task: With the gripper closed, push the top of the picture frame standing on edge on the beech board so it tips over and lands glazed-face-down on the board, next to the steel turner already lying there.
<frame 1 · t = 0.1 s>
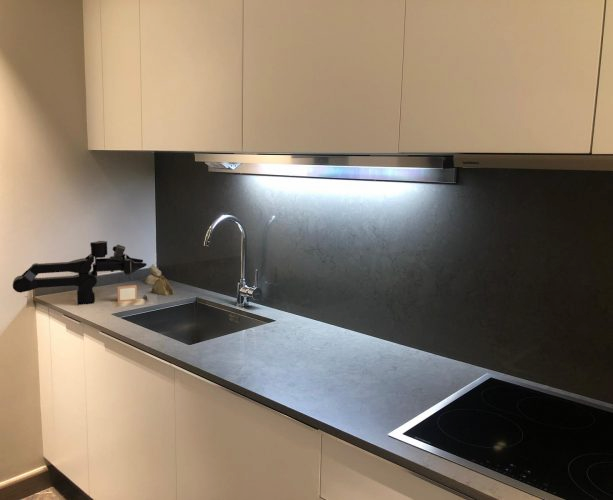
hand: (144, 262, 247), 17 cm above the worktop, tool horizontal, fingers open, 9 cm apart
rock: (162, 295, 258), on the worktop
beige lumpy chunk: (153, 283, 280), on the worktop
picture frame: (127, 300, 243), point 1 cm above the worktop, touching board
turner: (147, 301, 242), resting on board
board: (132, 303, 241), on the worktop
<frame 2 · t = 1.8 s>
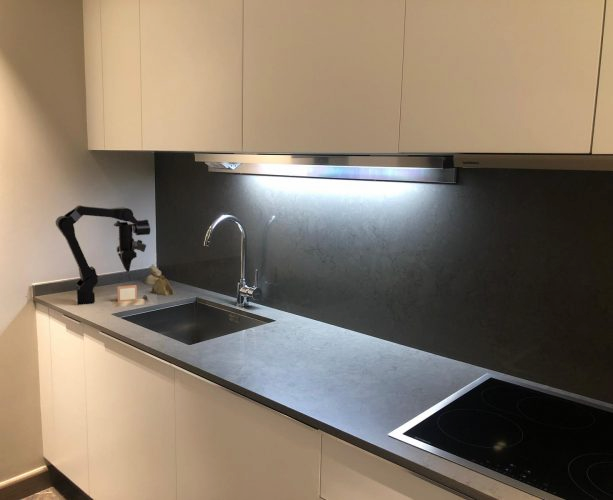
hand: (127, 270, 247), 13 cm above the worktop, tool pointing down, fingers open, 5 cm apart
nothing on the worktop moved.
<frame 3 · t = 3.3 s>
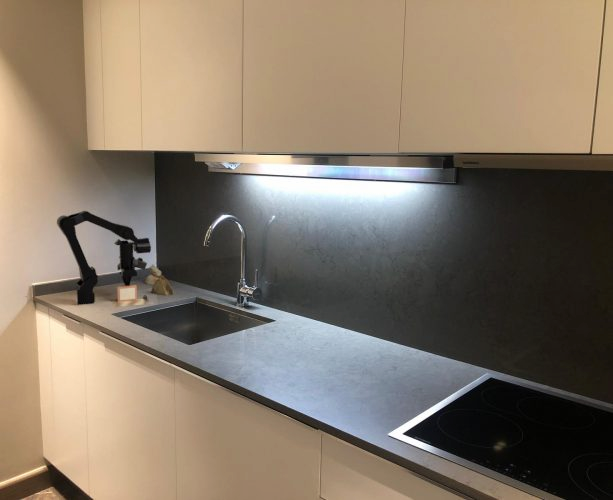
hand: (127, 288, 248), 5 cm above the worktop, tool pointing down, fingers closed
nothing on the worktop moved.
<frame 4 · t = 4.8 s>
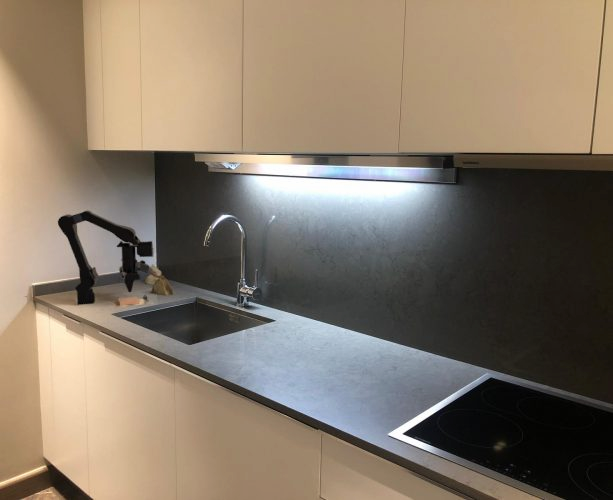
hand: (129, 292, 242), 5 cm above the worktop, tool pointing down, fingers closed
picture frame: (127, 299, 242), point 1 cm above the worktop, tilted 90°, touching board
everything else where it was.
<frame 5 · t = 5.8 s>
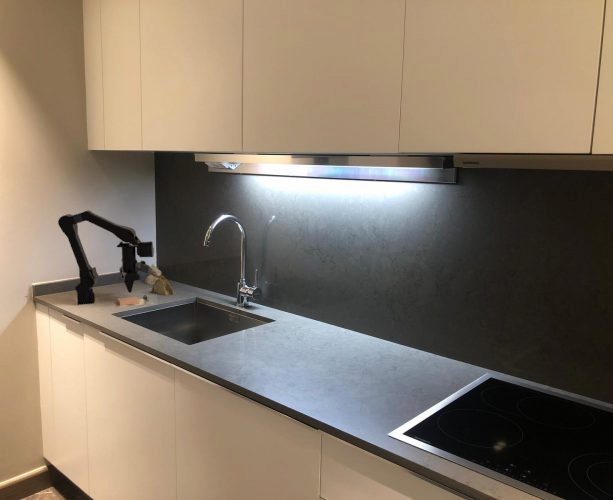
hand: (130, 292, 241), 5 cm above the worktop, tool pointing down, fingers closed
nothing on the worktop moved.
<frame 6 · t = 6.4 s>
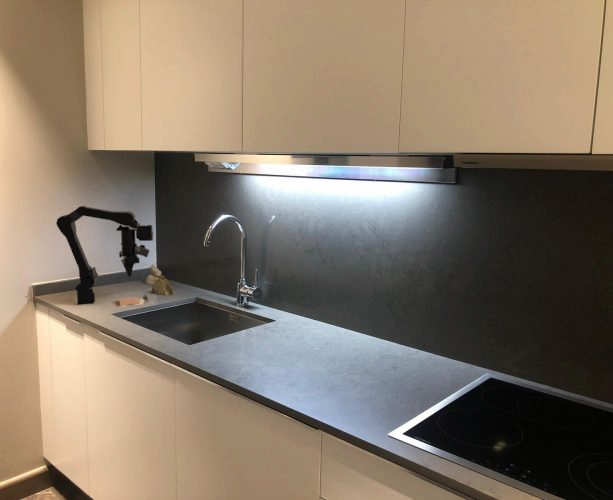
hand: (129, 276, 240), 12 cm above the worktop, tool pointing down, fingers closed
nothing on the worktop moved.
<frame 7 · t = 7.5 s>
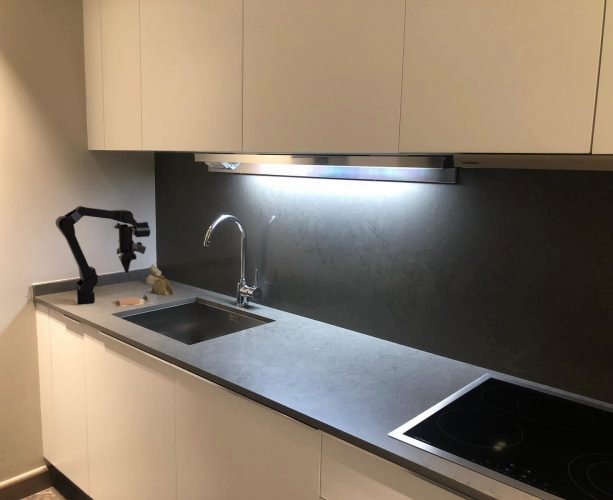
hand: (126, 272, 247), 12 cm above the worktop, tool pointing down, fingers closed
nothing on the worktop moved.
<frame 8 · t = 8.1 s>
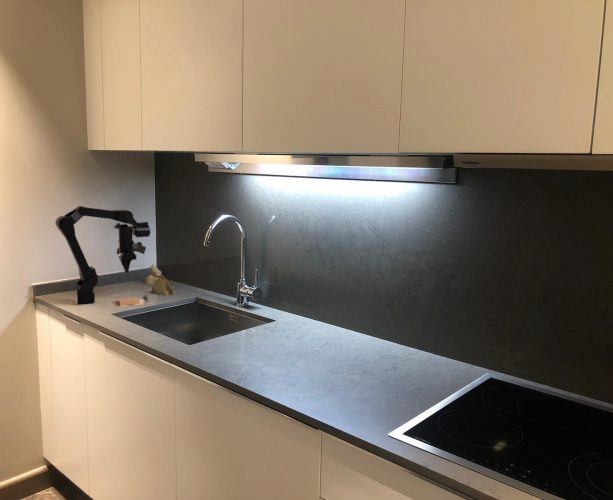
hand: (126, 272, 247), 12 cm above the worktop, tool pointing down, fingers closed
nothing on the worktop moved.
at the end: picture frame tilted 90°; picture frame inside the target area (4.0 cm from its centre), point 1.4 cm above the worktop; the gripper is holding nothing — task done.
